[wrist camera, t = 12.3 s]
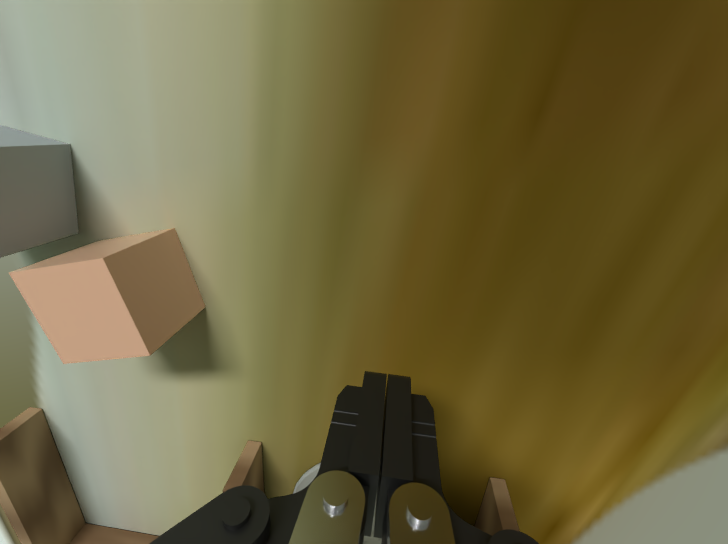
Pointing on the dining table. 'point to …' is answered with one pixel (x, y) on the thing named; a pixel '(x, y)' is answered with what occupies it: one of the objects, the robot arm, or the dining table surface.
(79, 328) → the block terracotta
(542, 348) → the dining table surface
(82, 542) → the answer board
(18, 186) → the block slate
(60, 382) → the dining table surface
